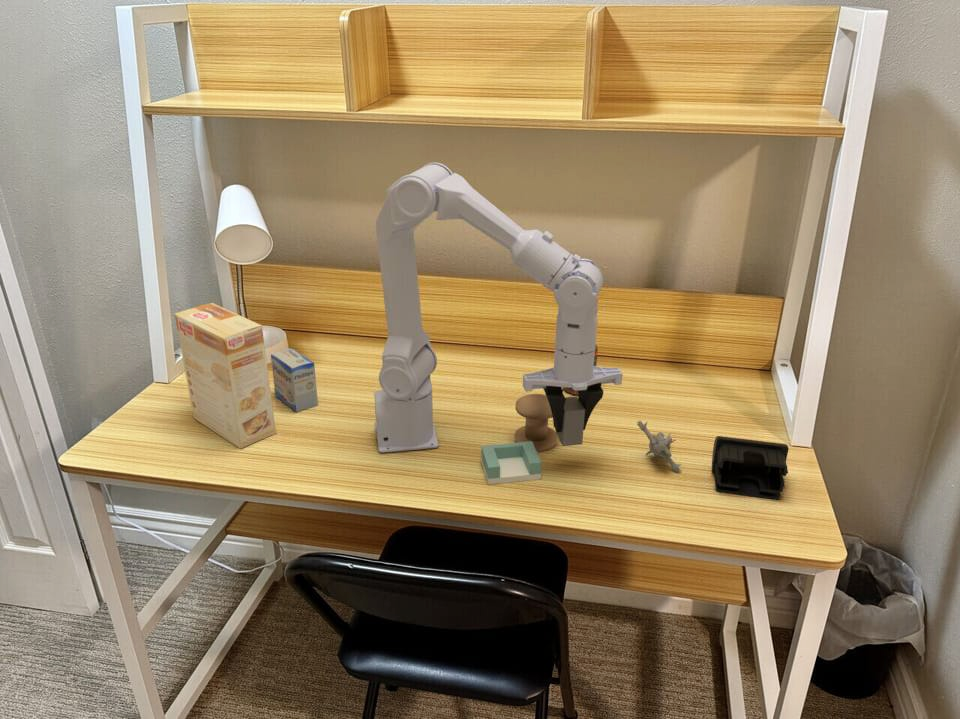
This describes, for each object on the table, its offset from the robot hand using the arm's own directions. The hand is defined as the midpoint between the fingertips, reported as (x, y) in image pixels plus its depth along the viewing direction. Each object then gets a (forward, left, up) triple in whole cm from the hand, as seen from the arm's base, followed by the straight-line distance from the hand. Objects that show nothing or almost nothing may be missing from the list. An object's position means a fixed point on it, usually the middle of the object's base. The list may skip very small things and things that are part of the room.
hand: (569, 428), depth 114 cm
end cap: (+25, -9, -7) cm, 28 cm away
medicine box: (-42, +28, -7) cm, 51 cm away
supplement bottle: (+9, +24, -7) cm, 26 cm away
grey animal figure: (+14, -1, -7) cm, 16 cm away
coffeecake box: (-52, +21, -7) cm, 56 cm away
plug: (0, 0, -2) cm, 2 cm away
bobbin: (-3, +8, -7) cm, 11 cm away
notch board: (-9, 0, -7) cm, 11 cm away
